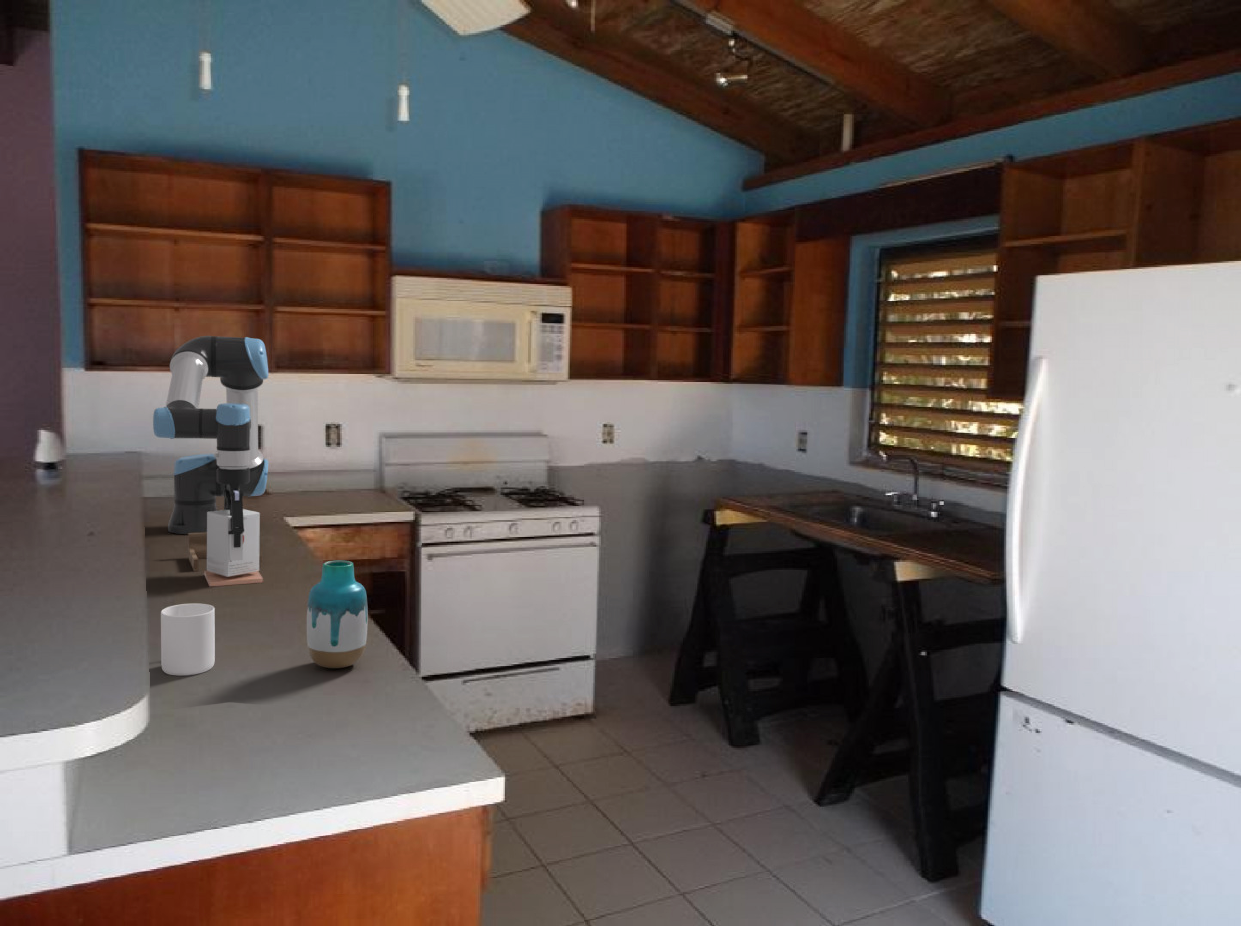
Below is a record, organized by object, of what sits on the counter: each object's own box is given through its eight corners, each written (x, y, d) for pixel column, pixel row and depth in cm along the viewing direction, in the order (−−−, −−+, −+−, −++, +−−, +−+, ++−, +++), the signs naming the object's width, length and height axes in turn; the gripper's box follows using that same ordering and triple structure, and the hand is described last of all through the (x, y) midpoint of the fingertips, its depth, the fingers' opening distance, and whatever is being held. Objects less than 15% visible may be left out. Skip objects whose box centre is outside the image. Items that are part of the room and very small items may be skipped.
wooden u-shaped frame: (188, 557, 245) (188, 533, 244) (252, 554, 253) (252, 530, 252) (193, 571, 231) (193, 544, 230) (261, 566, 239) (261, 541, 238)
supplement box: (227, 577, 219) (227, 516, 217) (205, 571, 224) (205, 511, 222) (260, 571, 226) (260, 511, 225) (239, 565, 231) (239, 507, 230)
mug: (211, 652, 171) (211, 596, 170) (216, 673, 160) (216, 613, 159) (160, 657, 167) (159, 600, 166) (162, 679, 156) (161, 618, 155)
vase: (375, 658, 172) (377, 559, 170) (353, 677, 161) (355, 571, 159) (321, 654, 173) (322, 555, 171) (296, 673, 162) (296, 567, 160)
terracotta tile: (204, 575, 228) (204, 571, 227) (255, 571, 234) (255, 567, 233) (209, 586, 217) (209, 582, 217) (263, 582, 223) (262, 578, 223)
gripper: (211, 461, 231) (211, 546, 233) (222, 473, 210) (222, 566, 213) (243, 461, 234) (243, 544, 237) (256, 473, 214) (256, 564, 216)
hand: (233, 554), depth 225 cm, fingers closed on supplement box, 11 cm apart
